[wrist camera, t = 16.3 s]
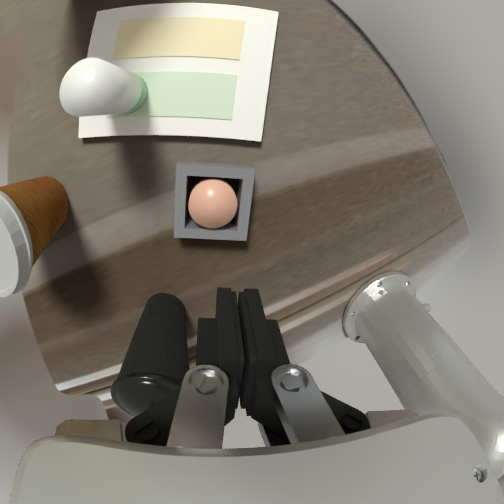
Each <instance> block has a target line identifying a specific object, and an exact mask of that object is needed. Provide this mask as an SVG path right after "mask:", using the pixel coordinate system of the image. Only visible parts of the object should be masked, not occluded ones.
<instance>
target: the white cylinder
mask: <svg viewBox="0 0 504 504" xmlns="http://www.w3.org/2000/svg"><path fill="white" fill-rule="evenodd" d="M146 97H147V85H146V83H145V81H144V80H143V79H142V78H141V77H140V76H138V75H136V74H134V73H132V72H129V71H127V70H125V69H123V68H120V67H118V66H116V65H113V64H111V63H109V62H106V61H104V60H102V59H99V58H86V59H83V60H81V61H79V62H77V63H76V64H74V65H73V66H72V67H71V68H70V69H69V70H68V72H67V73H66V74H65V76H64V78H63V80H62V83H61V86H60V101H61V104H62V107H63V108H64V110H65V111H66V112H67V113H69V114H70V115H73V116H77V117H83V116H97V115H119V114H130V113H133V112H135V111H136V110H138V109H139V108H140V107H141V106H142V105H143V103H144V102H145V100H146Z"/></svg>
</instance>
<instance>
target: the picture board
mask: <svg viewBox="0 0 504 504" xmlns="http://www.w3.org/2000/svg"><path fill="white" fill-rule="evenodd" d="M278 13H279V12H275V11H270V10H264V9H258V8H251V7H243V6H234V5H224V4H208V3H162V4H147V5H136V6H128V7H120V8H114V9H108V10H102V11H97V15H96V18H95V22H94V26H93V30H92V35H91V39H90V44H89V49H88V54H87V58H99V59H102V60H104V61H106V62H109V63H111V64H113V65H116V66H118V67H120V68H123V69H125V70H127V71H129V72H132V73H134V74H136V75H138V76H140V77H141V78H142V79H143V80H144V81H145V83H146V85H147V97H146V100H145V102H144V103H143V105H142V106H141V107H140V108H139V109H138V110H136V111H135V112H133V113H130V114H119V115H97V116H83V117H80V118H79V138H87V137H101V136H122V135H181V136H203V137H218V138H231V139H242V140H251V141H260V142H261V139H262V132H263V124H264V116H265V109H266V101H267V94H268V86H269V79H270V71H271V64H272V57H273V49H274V42H275V35H276V27H277V20H278Z"/></svg>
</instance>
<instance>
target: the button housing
mask: <svg viewBox="0 0 504 504" xmlns="http://www.w3.org/2000/svg"><path fill="white" fill-rule="evenodd" d="M188 176H205V177H221V178H235V179H240V180H239V189H238V198H237V211H236V217H235V222H229V223H227V224H226V225H224V226H222V227H219V228H206V227H203V226H201V225H199V224H198V223H196V222H195V221H194V220H186V214H187V193H188ZM254 176H255V168H254V167H253V166H252V165H242V164H230V163H216V162H199V161H179V162H178V163H177V164H176V180H175V205H174V238H195V239H217V240H238V241H247V232H248V224H249V216H250V208H251V200H252V192H253V184H254Z"/></svg>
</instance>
